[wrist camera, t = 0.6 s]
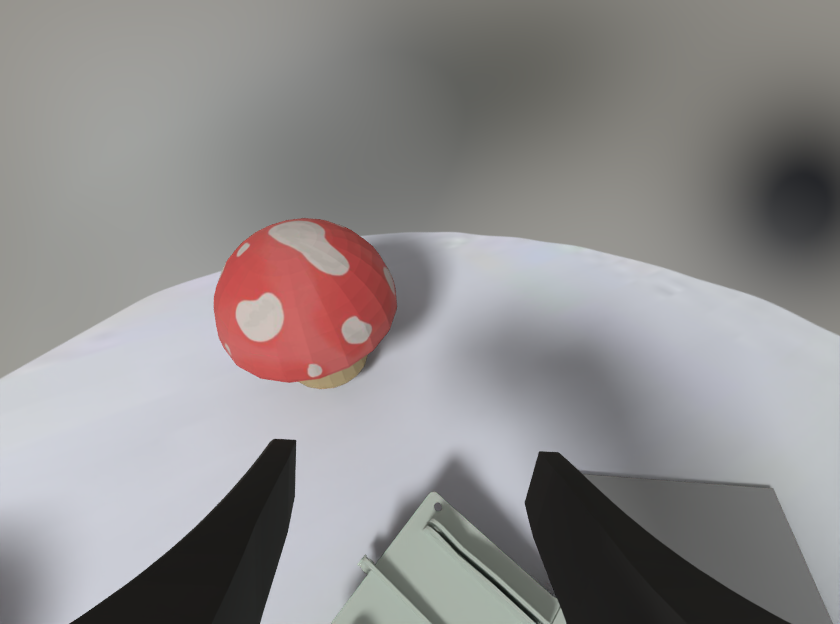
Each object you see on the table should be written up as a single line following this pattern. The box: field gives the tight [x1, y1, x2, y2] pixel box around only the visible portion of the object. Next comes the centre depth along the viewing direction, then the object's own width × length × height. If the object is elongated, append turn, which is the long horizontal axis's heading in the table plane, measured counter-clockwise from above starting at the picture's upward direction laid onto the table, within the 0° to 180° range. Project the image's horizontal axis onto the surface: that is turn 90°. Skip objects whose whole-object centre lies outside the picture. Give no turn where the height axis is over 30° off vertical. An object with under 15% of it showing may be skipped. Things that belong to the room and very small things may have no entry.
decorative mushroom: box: [214, 218, 397, 389], centre depth 34 cm, size 13×13×15 cm
